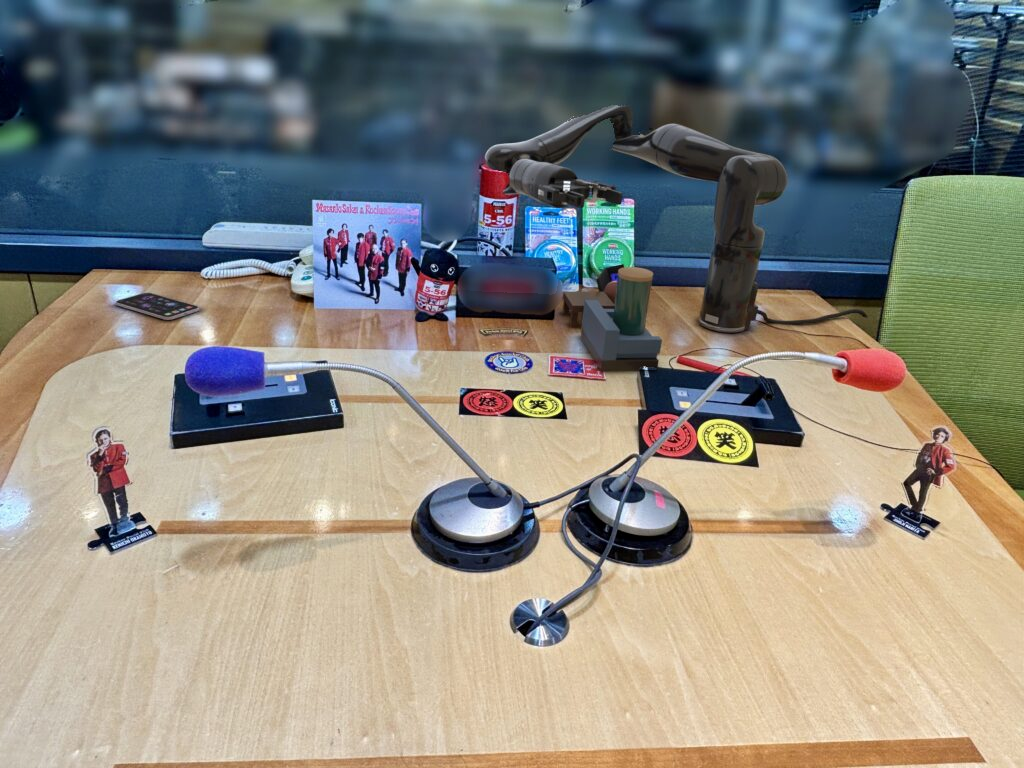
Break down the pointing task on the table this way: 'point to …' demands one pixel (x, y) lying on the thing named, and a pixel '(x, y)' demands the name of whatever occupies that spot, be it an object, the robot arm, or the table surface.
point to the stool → (582, 303)
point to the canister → (632, 300)
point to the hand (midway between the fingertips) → (602, 200)
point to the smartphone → (157, 306)
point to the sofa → (616, 342)
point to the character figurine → (609, 281)
